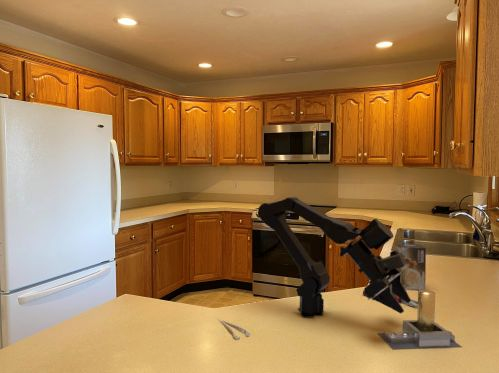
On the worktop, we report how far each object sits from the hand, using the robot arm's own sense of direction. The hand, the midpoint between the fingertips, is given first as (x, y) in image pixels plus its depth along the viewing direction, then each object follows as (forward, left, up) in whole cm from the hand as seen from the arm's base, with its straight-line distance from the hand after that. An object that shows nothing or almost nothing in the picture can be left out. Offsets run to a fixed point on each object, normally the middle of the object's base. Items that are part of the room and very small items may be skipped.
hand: (406, 306), depth 96 cm
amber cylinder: (+4, -3, -8) cm, 9 cm away
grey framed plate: (+2, -3, -8) cm, 8 cm away
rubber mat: (+2, -3, -8) cm, 9 cm away
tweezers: (-47, +10, -9) cm, 49 cm away
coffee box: (+24, +40, -8) cm, 48 cm away
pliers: (+9, +28, -9) cm, 30 cm away
